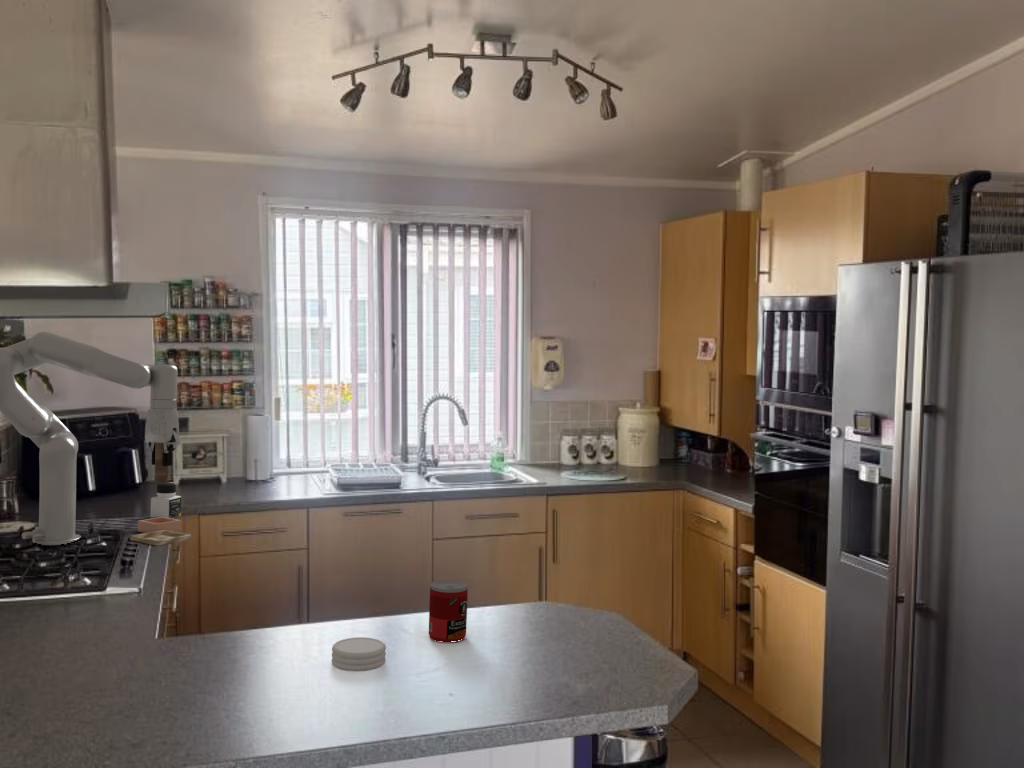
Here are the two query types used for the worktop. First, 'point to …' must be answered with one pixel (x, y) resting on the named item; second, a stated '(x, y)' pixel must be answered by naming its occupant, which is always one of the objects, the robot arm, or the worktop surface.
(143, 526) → the pink square box
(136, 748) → the worktop surface
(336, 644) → the coaster
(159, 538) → the tray
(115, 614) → the worktop surface
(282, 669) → the worktop surface
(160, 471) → the dowel
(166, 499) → the medicine bottle
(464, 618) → the canned food
